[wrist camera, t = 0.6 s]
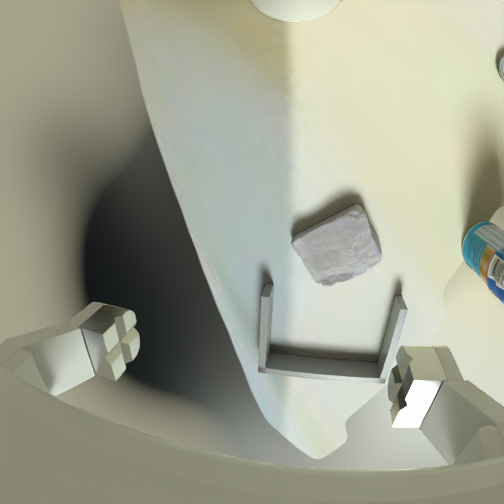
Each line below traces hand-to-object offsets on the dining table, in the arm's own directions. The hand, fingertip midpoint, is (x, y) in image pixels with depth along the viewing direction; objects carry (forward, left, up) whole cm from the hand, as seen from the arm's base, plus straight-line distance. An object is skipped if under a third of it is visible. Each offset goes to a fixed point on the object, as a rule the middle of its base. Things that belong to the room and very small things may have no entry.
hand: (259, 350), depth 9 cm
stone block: (+10, +5, -39) cm, 41 cm away
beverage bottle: (+7, +29, -39) cm, 49 cm away
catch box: (+24, +5, -39) cm, 46 cm away
